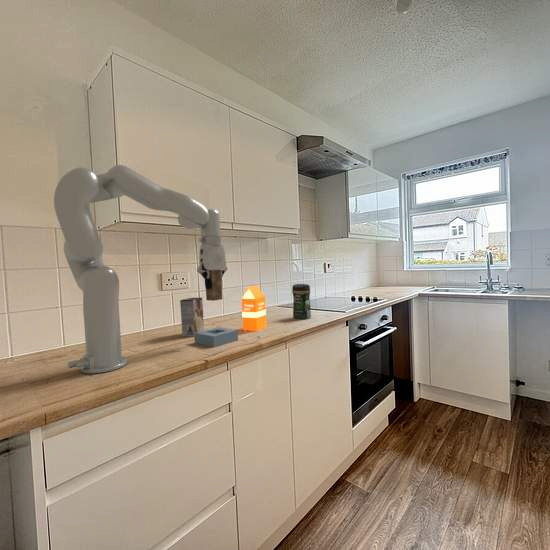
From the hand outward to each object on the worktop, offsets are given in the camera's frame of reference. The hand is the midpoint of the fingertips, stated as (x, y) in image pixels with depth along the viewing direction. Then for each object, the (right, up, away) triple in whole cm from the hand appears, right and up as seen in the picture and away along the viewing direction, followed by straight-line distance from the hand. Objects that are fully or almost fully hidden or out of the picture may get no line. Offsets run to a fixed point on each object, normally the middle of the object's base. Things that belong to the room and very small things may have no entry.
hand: (213, 287), depth 118 cm
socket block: (+1, -21, +1) cm, 22 cm away
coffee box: (-12, -22, +16) cm, 30 cm away
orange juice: (+15, -20, +22) cm, 33 cm away
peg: (0, -5, 0) cm, 5 cm away
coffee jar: (+39, -19, +45) cm, 62 cm away
